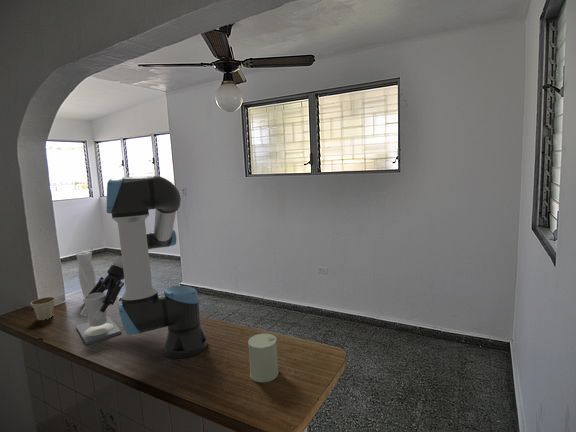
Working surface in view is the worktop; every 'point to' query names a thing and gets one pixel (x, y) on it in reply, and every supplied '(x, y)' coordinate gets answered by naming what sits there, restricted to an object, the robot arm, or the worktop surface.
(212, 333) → the worktop surface
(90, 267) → the skyscraper
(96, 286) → the robot arm
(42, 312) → the flower pot
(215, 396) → the worktop surface
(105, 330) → the board
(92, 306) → the cup
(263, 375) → the can
